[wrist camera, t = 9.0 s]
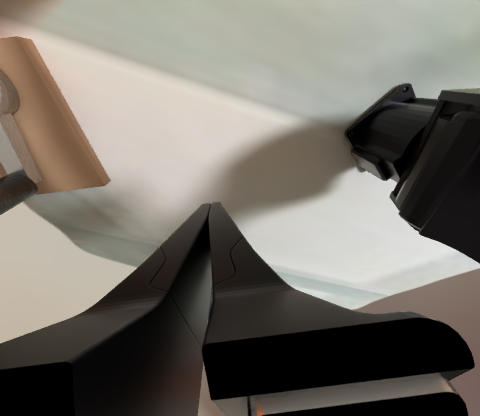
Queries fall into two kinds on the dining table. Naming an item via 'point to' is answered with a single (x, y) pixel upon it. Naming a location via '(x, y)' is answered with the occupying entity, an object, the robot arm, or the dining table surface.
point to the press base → (48, 123)
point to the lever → (14, 152)
